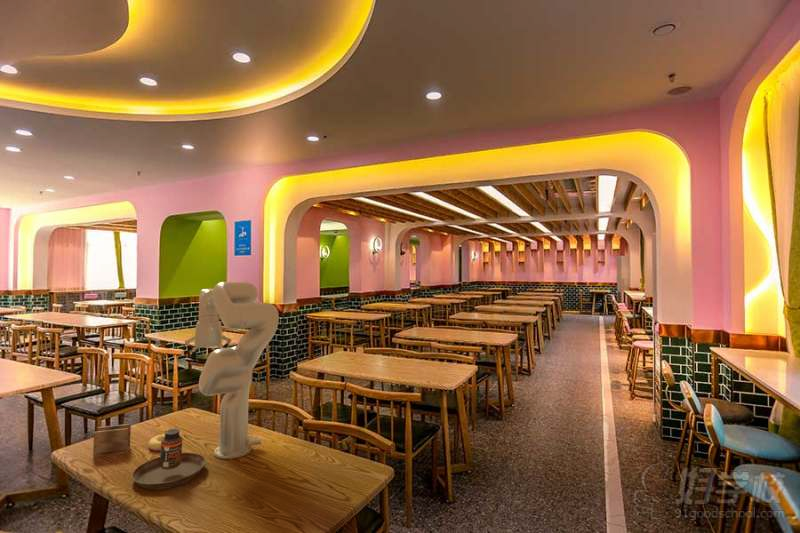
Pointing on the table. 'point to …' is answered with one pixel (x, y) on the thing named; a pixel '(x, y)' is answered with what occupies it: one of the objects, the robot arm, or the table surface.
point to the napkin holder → (112, 440)
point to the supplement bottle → (171, 449)
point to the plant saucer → (168, 472)
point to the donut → (156, 442)
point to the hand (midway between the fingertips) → (207, 360)
